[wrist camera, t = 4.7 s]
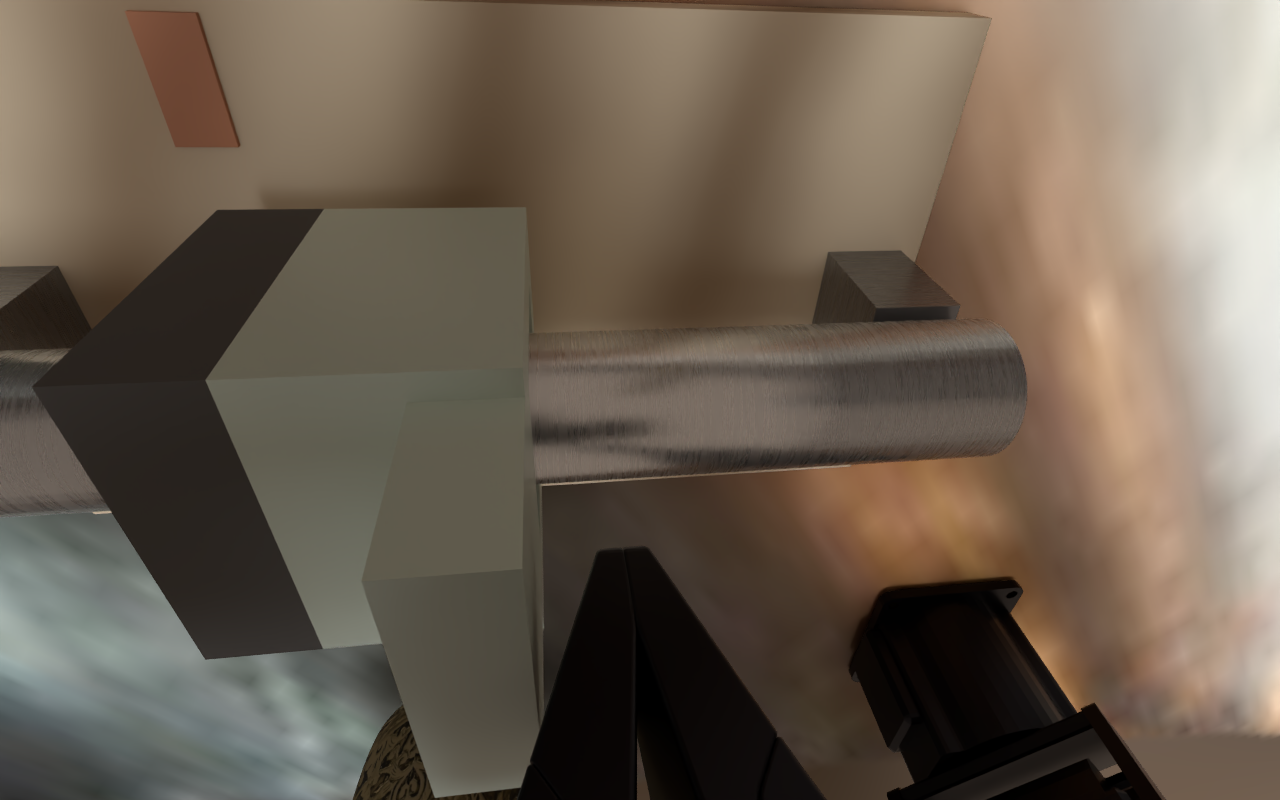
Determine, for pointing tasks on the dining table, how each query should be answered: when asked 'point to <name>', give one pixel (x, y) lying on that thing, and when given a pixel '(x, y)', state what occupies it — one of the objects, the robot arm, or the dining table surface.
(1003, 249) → the dining table surface
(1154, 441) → the dining table surface
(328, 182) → the base board
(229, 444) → the rubber collar
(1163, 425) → the dining table surface
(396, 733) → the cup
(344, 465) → the sleeve
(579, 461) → the steel pipe
